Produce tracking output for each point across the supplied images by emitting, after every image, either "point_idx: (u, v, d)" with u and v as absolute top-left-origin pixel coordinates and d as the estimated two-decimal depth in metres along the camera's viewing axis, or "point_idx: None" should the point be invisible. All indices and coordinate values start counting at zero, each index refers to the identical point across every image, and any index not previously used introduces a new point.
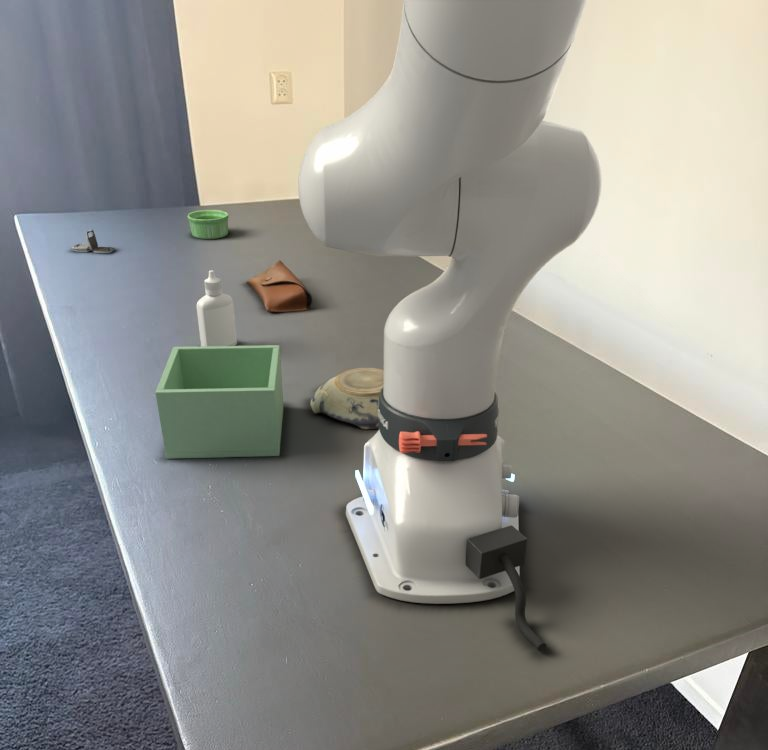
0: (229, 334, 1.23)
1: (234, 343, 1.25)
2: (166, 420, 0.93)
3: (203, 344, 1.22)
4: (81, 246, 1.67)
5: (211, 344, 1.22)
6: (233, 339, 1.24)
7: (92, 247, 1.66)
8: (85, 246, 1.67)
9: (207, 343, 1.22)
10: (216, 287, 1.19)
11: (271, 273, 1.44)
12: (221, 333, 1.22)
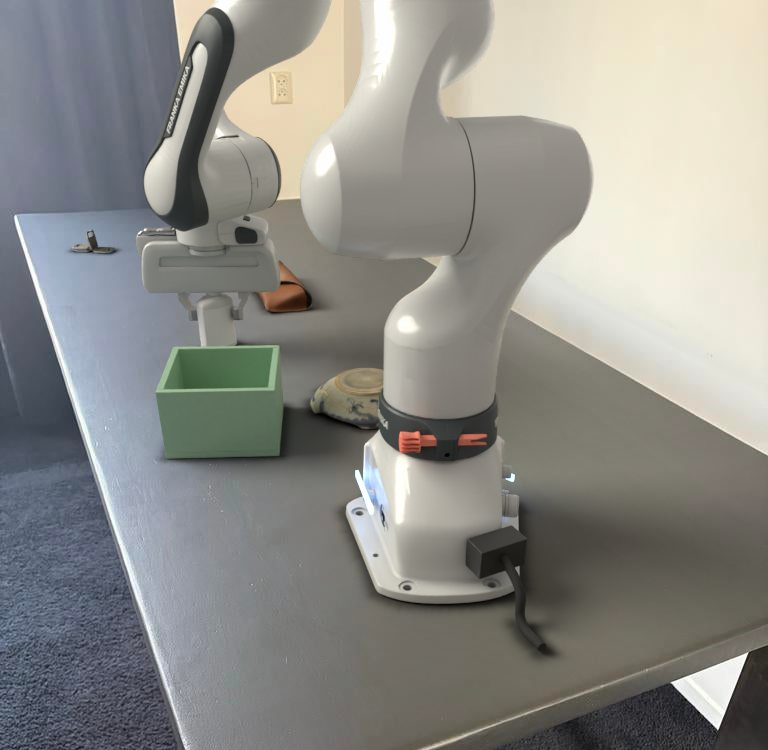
0: (229, 334, 1.23)
1: (234, 343, 1.25)
2: (166, 420, 0.93)
3: (203, 344, 1.23)
4: (81, 246, 1.67)
5: (211, 344, 1.22)
6: (233, 339, 1.24)
7: (92, 247, 1.66)
8: (85, 246, 1.67)
9: (207, 343, 1.22)
10: None
11: None
12: (221, 333, 1.22)
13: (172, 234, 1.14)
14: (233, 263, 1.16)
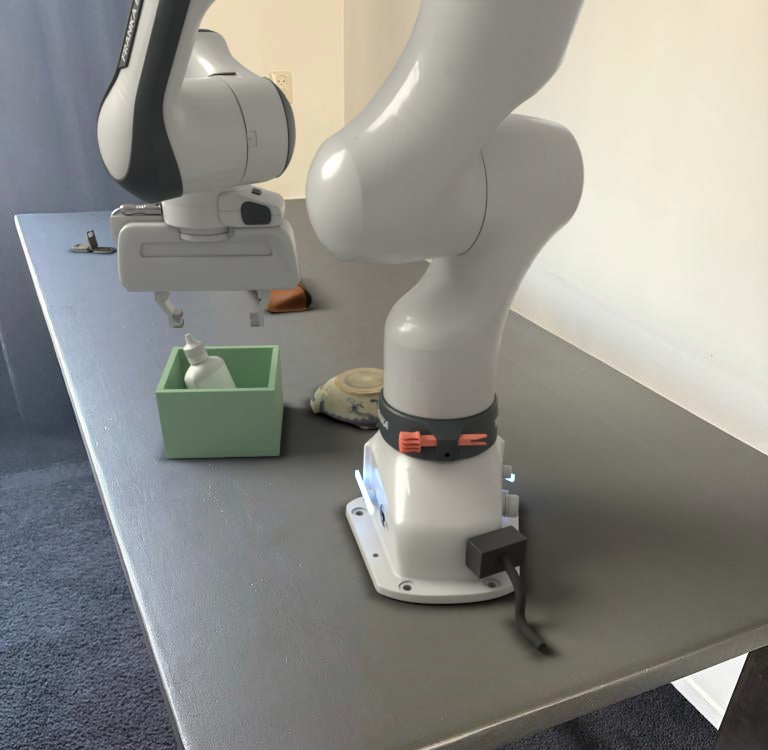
0: None
1: None
2: (166, 420, 0.93)
3: None
4: (81, 246, 1.67)
5: None
6: None
7: (92, 247, 1.66)
8: (85, 246, 1.67)
9: None
10: (200, 351, 0.95)
11: None
12: None
13: (158, 213, 0.86)
14: (239, 251, 0.88)
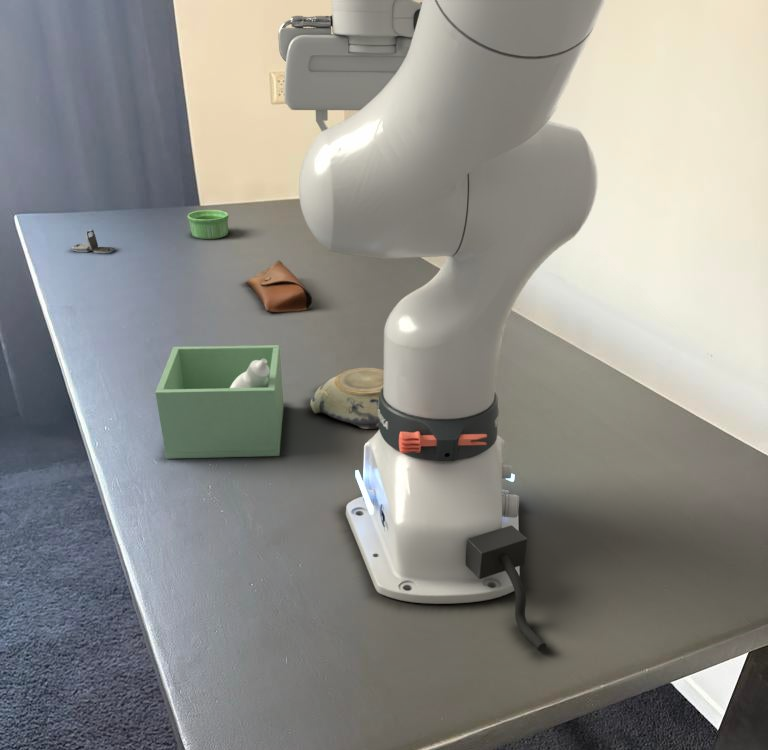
0: None
1: None
2: (166, 420, 0.93)
3: None
4: (81, 246, 1.67)
5: None
6: None
7: (92, 247, 1.66)
8: (85, 246, 1.67)
9: None
10: (264, 379, 0.93)
11: (270, 273, 1.44)
12: None
13: (327, 25, 0.88)
14: None
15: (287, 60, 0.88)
